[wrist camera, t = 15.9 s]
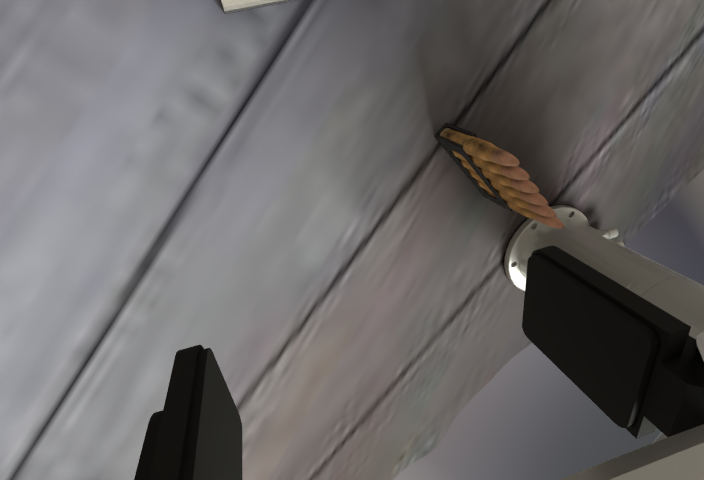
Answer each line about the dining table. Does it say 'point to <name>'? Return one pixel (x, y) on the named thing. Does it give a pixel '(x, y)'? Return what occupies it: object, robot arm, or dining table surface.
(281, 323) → the dining table surface
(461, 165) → the ammunition clip
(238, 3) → the socket block
